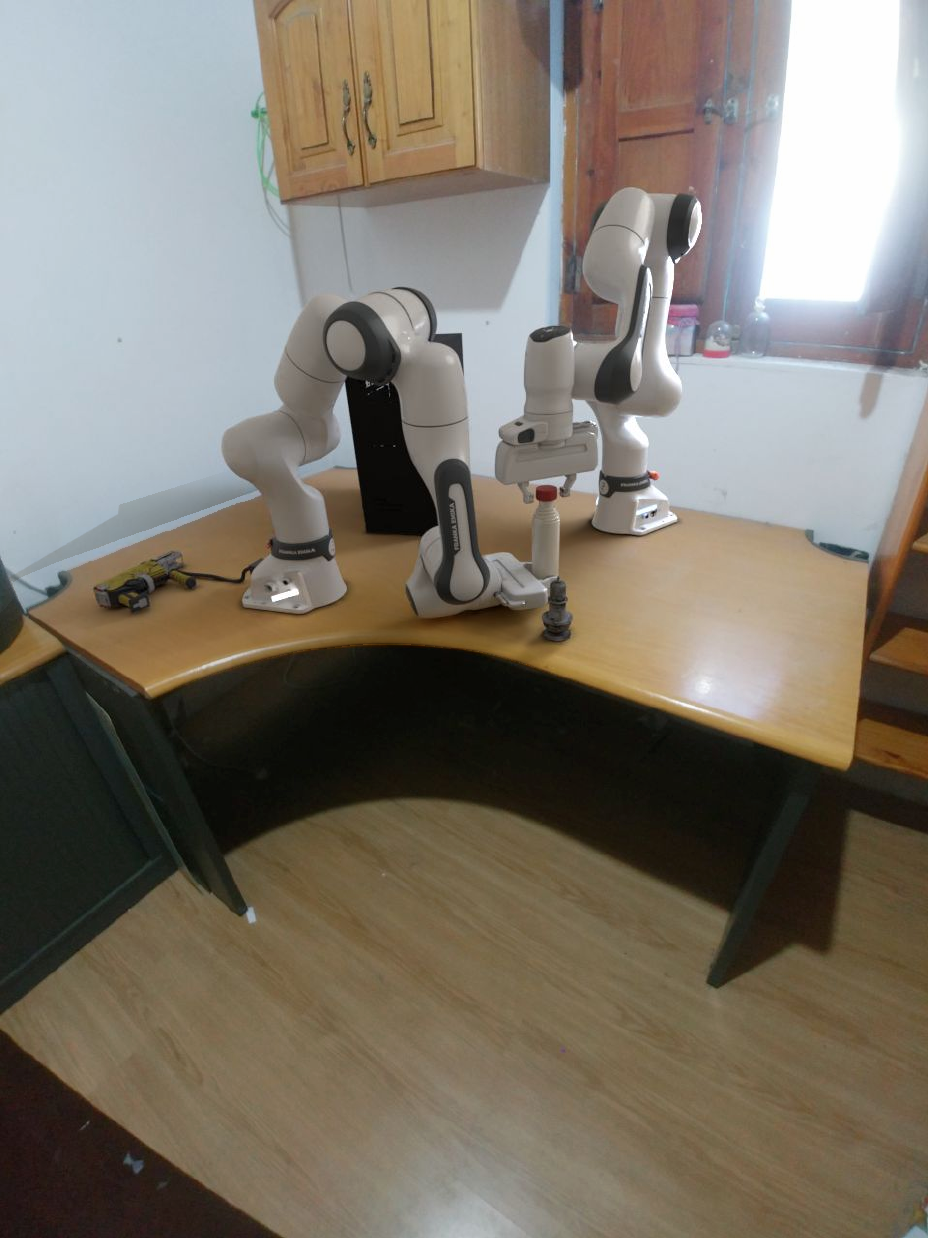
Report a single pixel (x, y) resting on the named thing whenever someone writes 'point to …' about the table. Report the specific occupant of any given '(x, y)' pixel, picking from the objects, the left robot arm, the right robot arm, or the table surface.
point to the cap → (546, 493)
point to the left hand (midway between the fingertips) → (548, 572)
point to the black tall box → (389, 457)
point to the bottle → (545, 541)
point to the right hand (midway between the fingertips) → (546, 499)
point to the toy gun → (141, 582)
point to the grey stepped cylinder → (557, 613)
